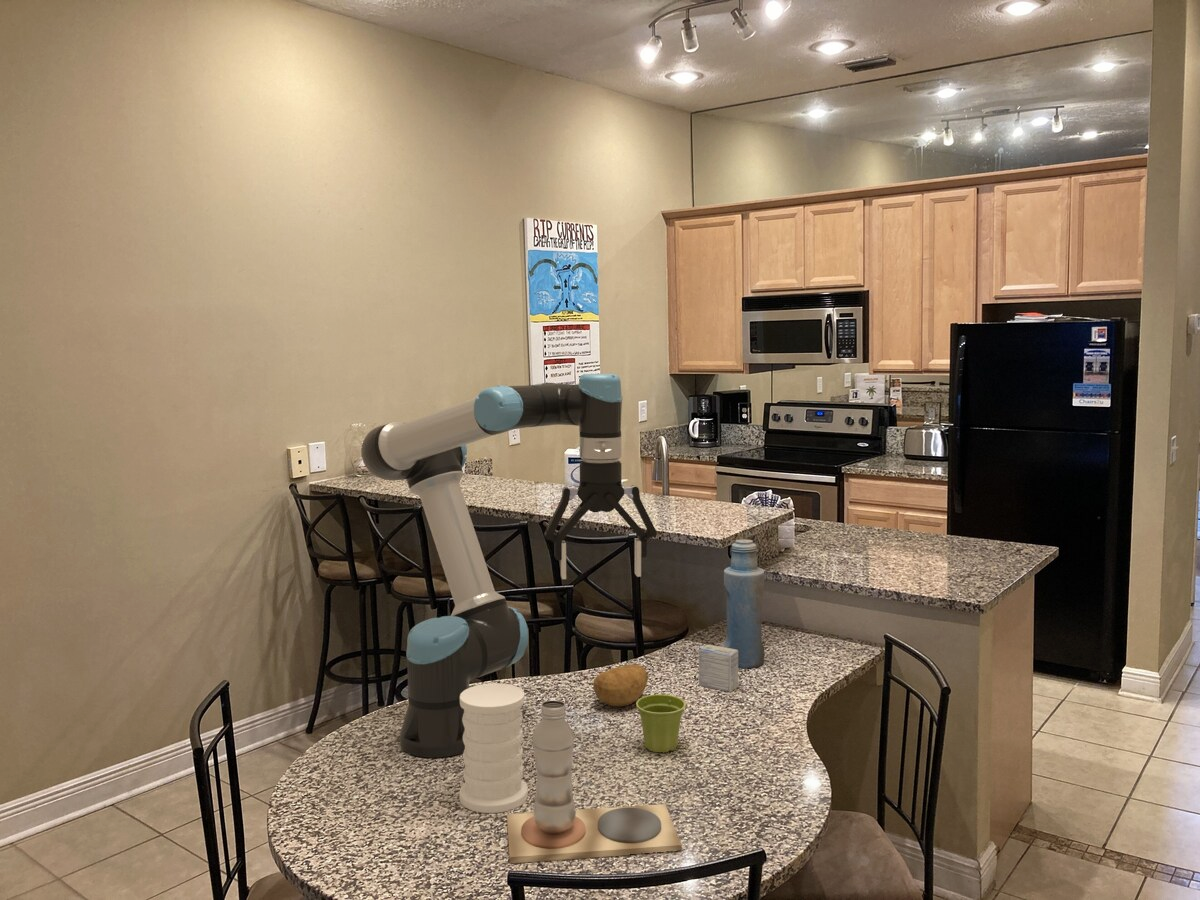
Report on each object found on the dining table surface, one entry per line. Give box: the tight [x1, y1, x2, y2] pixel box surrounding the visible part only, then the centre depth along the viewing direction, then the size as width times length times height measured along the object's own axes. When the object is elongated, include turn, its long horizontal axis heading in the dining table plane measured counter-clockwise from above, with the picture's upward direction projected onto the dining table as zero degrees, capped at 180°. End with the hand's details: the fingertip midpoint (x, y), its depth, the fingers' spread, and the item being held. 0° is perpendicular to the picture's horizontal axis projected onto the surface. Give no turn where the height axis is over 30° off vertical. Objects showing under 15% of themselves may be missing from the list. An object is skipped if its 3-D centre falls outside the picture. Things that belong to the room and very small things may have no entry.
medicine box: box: [698, 644, 739, 693], centre depth 213 cm, size 8×4×9 cm, turn 58°
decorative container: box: [459, 682, 529, 814], centre depth 161 cm, size 12×12×18 cm
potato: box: [592, 663, 649, 707], centre depth 203 cm, size 10×14×8 cm
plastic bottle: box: [531, 699, 577, 833], centre depth 147 cm, size 6×7×20 cm
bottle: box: [723, 539, 765, 669], centre depth 228 cm, size 10×10×30 cm
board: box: [506, 803, 683, 864], centre depth 149 cm, size 26×13×2 cm, turn 97°
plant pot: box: [635, 693, 687, 754], centre depth 181 cm, size 9×9×9 cm
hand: (600, 576), depth 172 cm, fingers open, 13 cm apart
